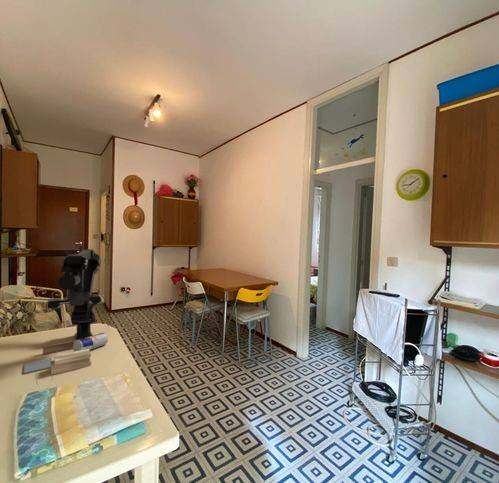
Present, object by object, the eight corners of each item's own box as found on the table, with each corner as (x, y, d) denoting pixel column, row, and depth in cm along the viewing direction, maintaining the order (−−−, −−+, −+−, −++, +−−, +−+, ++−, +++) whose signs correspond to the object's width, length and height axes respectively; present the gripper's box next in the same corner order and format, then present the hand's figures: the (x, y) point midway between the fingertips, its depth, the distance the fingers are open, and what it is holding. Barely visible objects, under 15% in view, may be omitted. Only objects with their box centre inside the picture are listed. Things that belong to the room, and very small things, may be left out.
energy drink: (73, 339, 110) (101, 330, 121) (72, 351, 110) (100, 342, 121) (80, 343, 107) (108, 334, 118) (79, 356, 108) (107, 346, 118)
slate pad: (24, 364, 99) (24, 363, 99) (51, 359, 104) (51, 358, 104) (23, 374, 93) (23, 372, 93) (52, 367, 98) (52, 366, 98)
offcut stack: (50, 368, 97) (50, 356, 97) (88, 360, 105) (89, 348, 105) (51, 374, 93) (51, 362, 93) (90, 365, 101) (91, 353, 101)
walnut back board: (42, 353, 108) (42, 346, 108) (88, 344, 118) (88, 337, 118) (42, 354, 108) (43, 347, 107) (88, 345, 118) (88, 338, 117)
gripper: (48, 290, 101) (47, 331, 101) (103, 285, 113) (102, 322, 113) (47, 285, 110) (46, 322, 110) (98, 281, 121) (98, 315, 122)
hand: (74, 321), depth 113 cm, fingers open, 9 cm apart
